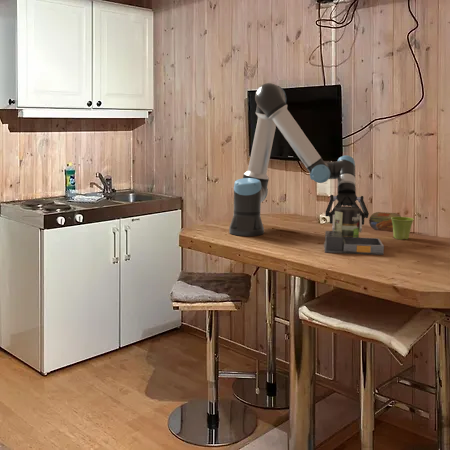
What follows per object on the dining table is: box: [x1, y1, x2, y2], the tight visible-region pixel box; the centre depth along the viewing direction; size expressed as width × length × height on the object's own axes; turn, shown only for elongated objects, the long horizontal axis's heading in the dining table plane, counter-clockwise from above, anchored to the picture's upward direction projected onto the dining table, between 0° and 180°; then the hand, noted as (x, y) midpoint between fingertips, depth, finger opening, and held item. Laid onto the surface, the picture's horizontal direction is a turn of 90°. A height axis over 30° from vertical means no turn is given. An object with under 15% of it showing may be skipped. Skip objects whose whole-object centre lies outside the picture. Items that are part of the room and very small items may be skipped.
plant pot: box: [391, 216, 415, 241], centre depth 249 cm, size 9×9×9 cm
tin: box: [368, 211, 402, 232], centre depth 268 cm, size 15×3×8 cm, turn 69°
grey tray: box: [323, 230, 385, 256], centre depth 225 cm, size 21×15×6 cm
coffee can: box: [334, 205, 362, 238], centre depth 239 cm, size 10×10×14 cm
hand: (347, 230), depth 236 cm, fingers closed on coffee can, 10 cm apart
